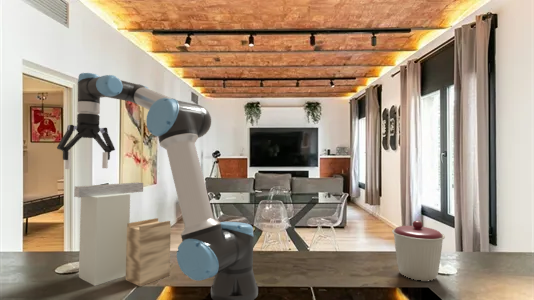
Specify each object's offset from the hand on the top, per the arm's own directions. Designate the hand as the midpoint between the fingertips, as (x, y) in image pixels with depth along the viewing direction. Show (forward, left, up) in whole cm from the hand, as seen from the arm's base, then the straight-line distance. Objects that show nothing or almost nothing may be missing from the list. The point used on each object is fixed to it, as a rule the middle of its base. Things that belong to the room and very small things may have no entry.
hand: (87, 168), depth 119 cm
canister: (-104, -74, -39) cm, 134 cm away
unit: (-11, -2, -39) cm, 41 cm away
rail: (-11, -4, -9) cm, 15 cm away
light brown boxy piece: (-25, -11, -39) cm, 48 cm away
